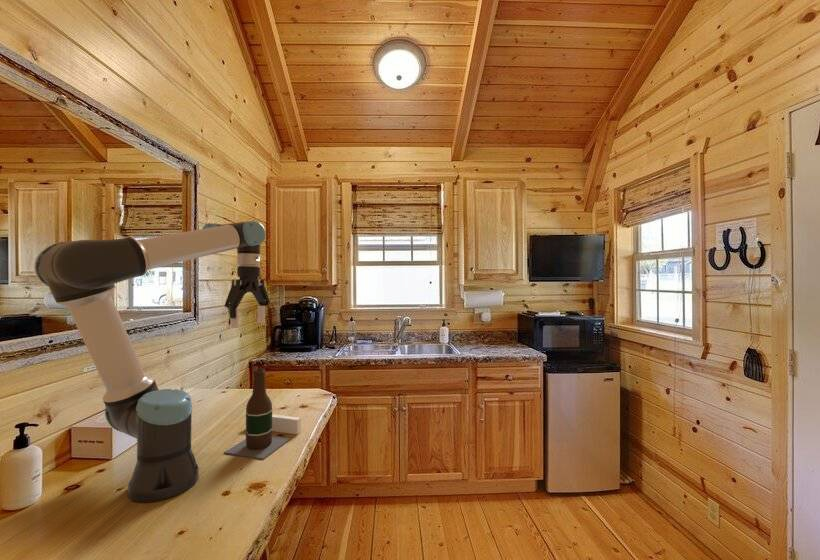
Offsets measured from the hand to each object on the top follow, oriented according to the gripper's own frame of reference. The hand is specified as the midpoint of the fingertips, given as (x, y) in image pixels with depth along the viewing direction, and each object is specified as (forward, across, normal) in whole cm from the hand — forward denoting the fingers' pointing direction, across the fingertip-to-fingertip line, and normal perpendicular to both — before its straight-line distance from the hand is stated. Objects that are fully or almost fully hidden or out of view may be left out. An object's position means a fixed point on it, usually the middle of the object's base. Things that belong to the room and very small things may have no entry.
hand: (248, 325), depth 129 cm
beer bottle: (+36, -11, -13) cm, 40 cm away
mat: (+37, -11, -13) cm, 40 cm away
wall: (+37, +1, -10) cm, 38 cm away
